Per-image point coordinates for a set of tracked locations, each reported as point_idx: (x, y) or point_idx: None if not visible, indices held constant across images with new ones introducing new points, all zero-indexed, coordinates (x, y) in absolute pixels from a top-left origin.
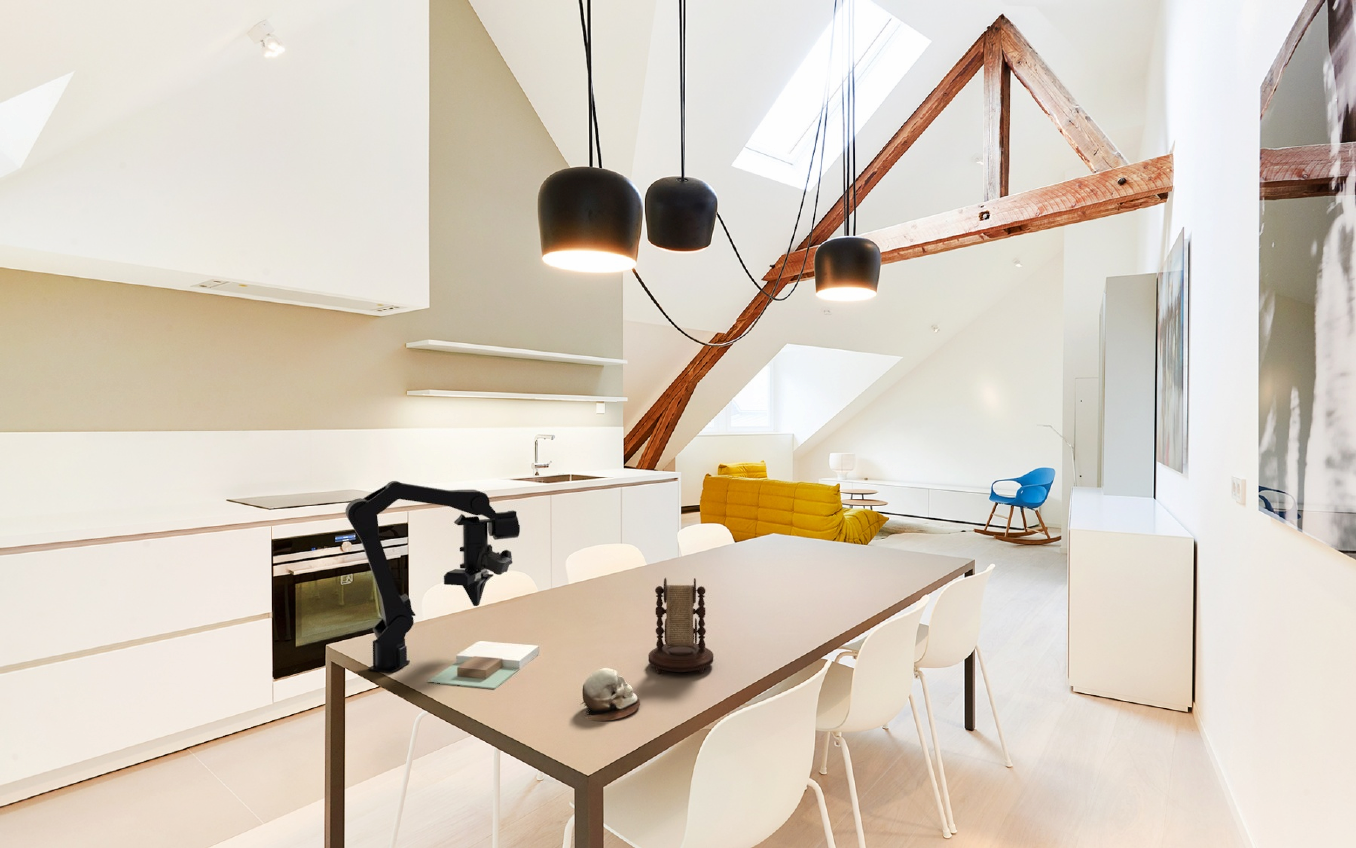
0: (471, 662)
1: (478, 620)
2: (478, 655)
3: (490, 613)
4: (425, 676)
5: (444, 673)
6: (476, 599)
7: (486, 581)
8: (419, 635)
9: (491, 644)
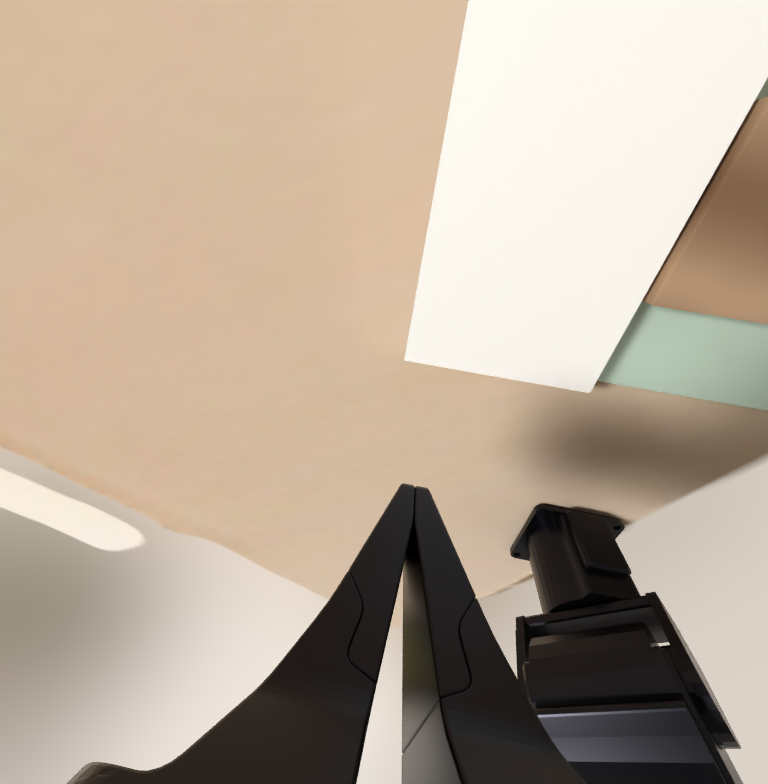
0: (765, 285)
1: (135, 438)
2: (620, 293)
3: (60, 424)
4: (687, 433)
5: (704, 381)
6: (448, 542)
7: (275, 703)
8: (307, 534)
9: (451, 286)
